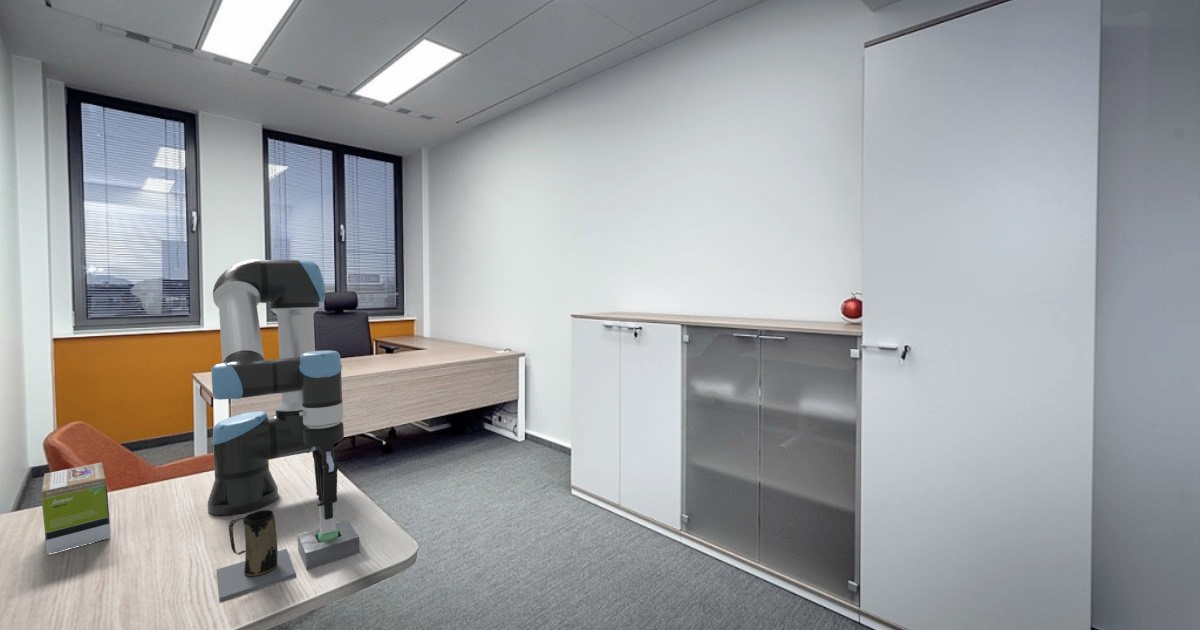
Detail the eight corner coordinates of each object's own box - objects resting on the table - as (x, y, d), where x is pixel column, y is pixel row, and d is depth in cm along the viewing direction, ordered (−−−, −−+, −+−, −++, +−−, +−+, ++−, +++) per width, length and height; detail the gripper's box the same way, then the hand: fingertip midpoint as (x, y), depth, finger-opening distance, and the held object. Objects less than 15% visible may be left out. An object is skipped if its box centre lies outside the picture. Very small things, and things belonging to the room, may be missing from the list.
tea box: (47, 533, 115) (43, 472, 114) (108, 518, 123) (104, 460, 122) (45, 557, 105) (40, 489, 104) (111, 539, 112) (107, 476, 112)
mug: (268, 558, 103) (265, 502, 102) (284, 565, 100) (281, 507, 99) (225, 579, 96) (222, 518, 95) (241, 586, 93) (238, 524, 92)
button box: (298, 549, 107) (297, 534, 107) (348, 534, 113) (347, 520, 113) (306, 570, 99) (305, 553, 99) (360, 552, 106) (359, 536, 106)
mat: (216, 572, 99) (216, 569, 99) (286, 551, 107) (286, 548, 106) (219, 601, 90) (219, 598, 90) (295, 576, 97) (295, 573, 97)
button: (316, 545, 107) (316, 531, 106) (336, 539, 109) (335, 526, 109) (320, 552, 104) (319, 538, 103) (340, 546, 106) (339, 532, 106)
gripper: (297, 420, 107) (302, 525, 109) (308, 434, 97) (314, 549, 99) (336, 414, 112) (340, 515, 113) (350, 426, 102) (354, 537, 103)
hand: (328, 531), depth 106 cm, fingers closed
